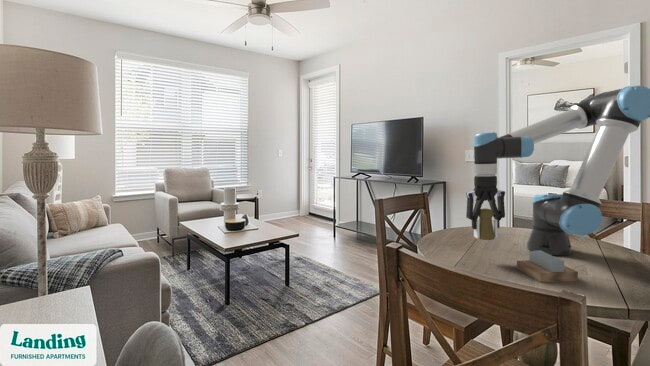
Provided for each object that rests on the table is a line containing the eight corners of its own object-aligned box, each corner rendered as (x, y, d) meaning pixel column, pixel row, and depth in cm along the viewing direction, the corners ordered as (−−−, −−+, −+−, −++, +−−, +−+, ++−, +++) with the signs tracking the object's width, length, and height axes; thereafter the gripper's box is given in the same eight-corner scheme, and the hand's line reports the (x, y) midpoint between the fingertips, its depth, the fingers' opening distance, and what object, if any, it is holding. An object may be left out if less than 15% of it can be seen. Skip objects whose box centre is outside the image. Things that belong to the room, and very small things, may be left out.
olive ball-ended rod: (486, 240, 119) (486, 210, 118) (472, 237, 124) (472, 208, 123) (498, 238, 121) (498, 209, 120) (484, 234, 127) (484, 206, 126)
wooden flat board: (550, 269, 115) (550, 259, 115) (577, 282, 103) (577, 271, 103) (516, 270, 115) (516, 260, 115) (540, 284, 103) (540, 273, 103)
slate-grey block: (540, 260, 114) (541, 250, 114) (563, 272, 103) (564, 261, 103) (529, 260, 114) (529, 250, 114) (551, 272, 103) (551, 261, 103)
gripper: (505, 173, 125) (504, 233, 127) (455, 175, 124) (456, 235, 126) (517, 174, 117) (516, 238, 119) (464, 177, 117) (464, 241, 119)
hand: (485, 236), depth 123 cm, fingers closed on olive ball-ended rod, 6 cm apart
